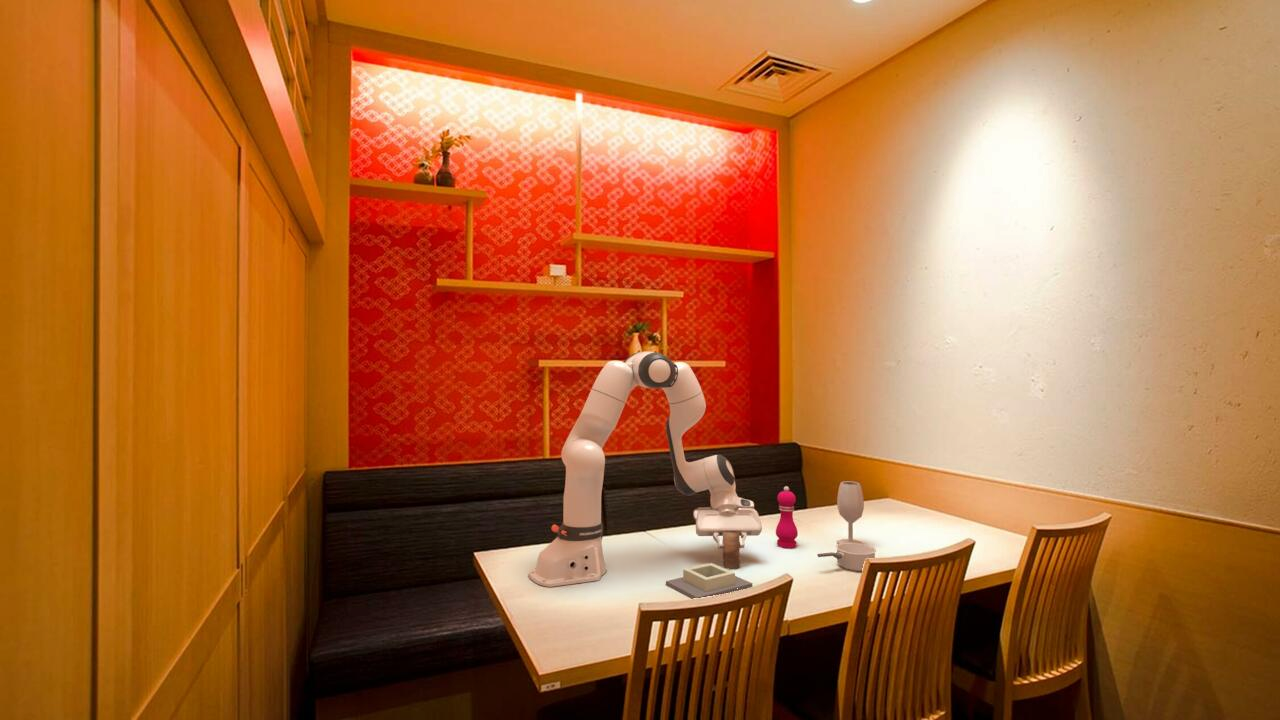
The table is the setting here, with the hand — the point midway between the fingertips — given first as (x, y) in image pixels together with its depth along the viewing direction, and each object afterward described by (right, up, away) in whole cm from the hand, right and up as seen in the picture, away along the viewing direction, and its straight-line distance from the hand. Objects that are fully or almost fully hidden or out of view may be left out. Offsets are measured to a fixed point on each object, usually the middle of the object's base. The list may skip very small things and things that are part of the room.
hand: (731, 547), depth 178 cm
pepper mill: (+22, -7, +22) cm, 32 cm away
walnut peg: (0, -6, +1) cm, 6 cm away
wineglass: (+44, -7, +23) cm, 50 cm away
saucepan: (+34, -6, -1) cm, 34 cm away
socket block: (-9, -6, -16) cm, 19 cm away
